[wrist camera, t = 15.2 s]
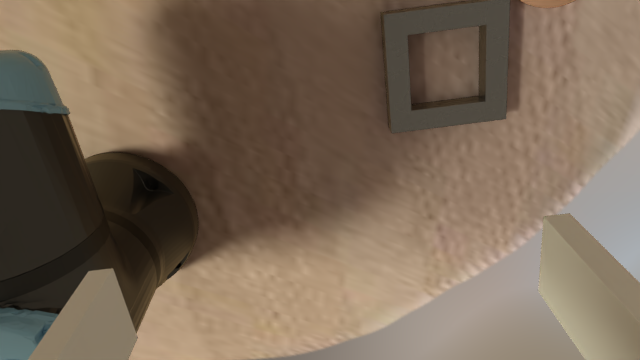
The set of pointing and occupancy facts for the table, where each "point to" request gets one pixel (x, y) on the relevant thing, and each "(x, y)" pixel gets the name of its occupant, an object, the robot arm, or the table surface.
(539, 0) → the coaster
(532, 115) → the table surface
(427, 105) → the socket plate
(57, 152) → the robot arm
